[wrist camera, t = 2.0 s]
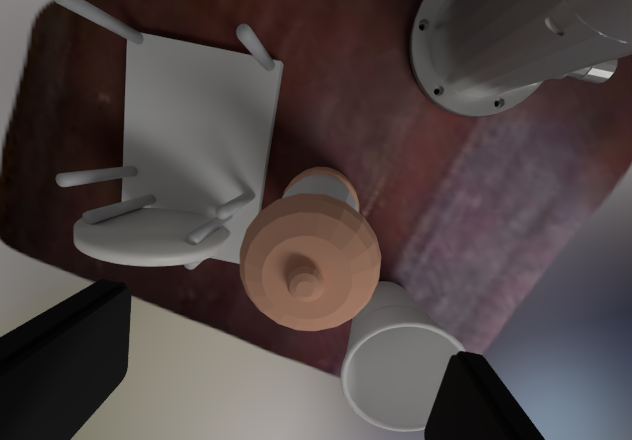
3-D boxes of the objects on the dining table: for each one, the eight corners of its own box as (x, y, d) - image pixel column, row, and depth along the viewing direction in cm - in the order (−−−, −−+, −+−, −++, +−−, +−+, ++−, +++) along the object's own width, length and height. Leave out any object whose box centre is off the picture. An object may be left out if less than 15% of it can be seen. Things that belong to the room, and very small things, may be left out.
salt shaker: (304, 246, 32) (266, 386, 13) (273, 184, 31) (184, 246, 12) (367, 219, 31) (421, 331, 12) (339, 154, 29) (351, 169, 11)
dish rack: (283, 64, 28) (247, 4, 16) (252, 261, 33) (207, 328, 21) (135, 34, 28) (-11, -48, 16) (127, 235, 33) (11, 287, 21)
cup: (353, 252, 32) (365, 305, 21) (441, 278, 32) (496, 344, 21) (326, 329, 34) (324, 412, 24) (408, 353, 35) (442, 446, 24)
